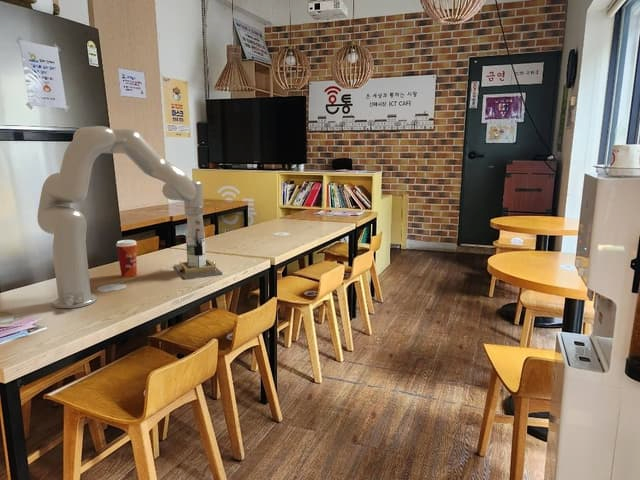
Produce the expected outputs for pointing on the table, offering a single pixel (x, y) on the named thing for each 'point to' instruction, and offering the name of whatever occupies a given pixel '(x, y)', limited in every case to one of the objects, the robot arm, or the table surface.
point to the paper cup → (127, 257)
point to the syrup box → (191, 258)
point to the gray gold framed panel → (197, 270)
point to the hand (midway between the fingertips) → (196, 253)
